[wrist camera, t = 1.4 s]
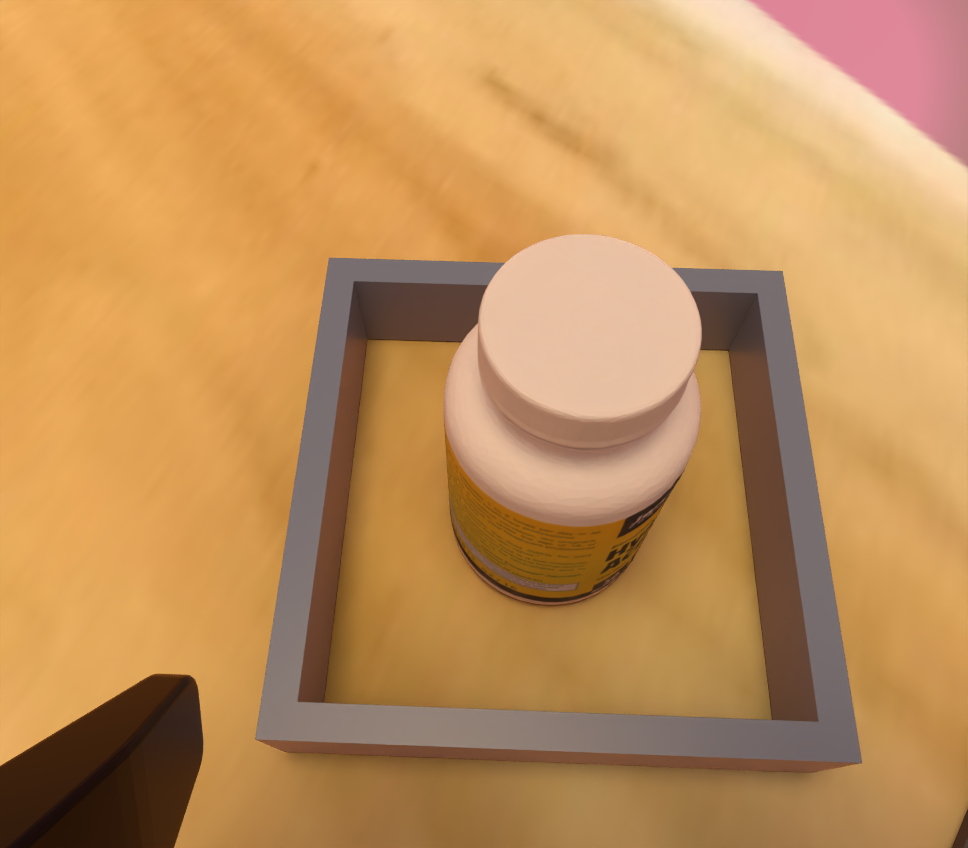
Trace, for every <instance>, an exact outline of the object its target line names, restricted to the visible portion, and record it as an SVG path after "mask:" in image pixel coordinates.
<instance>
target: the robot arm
mask: <svg viewBox="0 0 968 848" xmlns="http://www.w3.org/2000/svg"><path fill="white" fill-rule="evenodd" d="M202 755H203V733H202V723H201V713H200V703H199V693H198V686H197V684H196V681H195V679H194V678H193V677H191V676H190V675H178V674H154V675H151V676H149V677H147V678H145V679H144V680H142V681H140V682H139V683H137V684H135V685H134V686H132V687H130V688H129V689H127V690H125V691H124V692H122V693H120V694H119V695H117V696H115V697H114V698H112V699H110V700H109V701H107V702H105V703H104V704H102V705H100V706H99V707H97V708H96V709H94V710H92V711H91V712H89V713H87V714H86V715H84V716H82V717H81V718H79V719H77V720H76V721H74V722H72V723H71V724H69V725H67V726H66V727H64V728H62V729H61V730H59V731H57V732H56V733H54V734H52V735H51V736H49V737H47V738H46V739H44V740H42V741H41V742H39V743H37V744H36V745H34V746H32V747H31V748H29V749H27V750H26V751H24V752H23V753H21V754H19V755H18V756H16V757H14V758H13V759H11V760H9V761H8V762H6V763H4V764H3V765H1V766H0V848H174V846H175V843H176V840H177V837H178V834H179V831H180V827H181V824H182V821H183V818H184V815H185V812H186V809H187V806H188V803H189V800H190V797H191V794H192V791H193V787H194V784H195V781H196V778H197V775H198V772H199V769H200V765H201V761H202Z"/></svg>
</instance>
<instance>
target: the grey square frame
mask: <svg viewBox="0 0 968 848" xmlns="http://www.w3.org/2000/svg"><path fill="white" fill-rule="evenodd" d="M504 264H505V263H489V262H455V261H421V260H387V259H353V258H329V262H328V268H327V275H326V281H325V288H324V294H323V301H322V307H321V314H320V320H319V327H318V333H317V340H316V346H315V353H314V359H313V366H312V372H311V379H310V385H309V392H308V398H307V405H306V412H305V418H304V425H303V431H302V438H301V444H300V451H299V457H298V464H297V470H296V477H295V483H294V490H293V496H292V503H291V509H290V516H289V522H288V529H287V535H286V542H285V548H284V555H283V561H282V568H281V575H280V581H279V588H278V594H277V601H276V607H275V614H274V620H273V627H272V633H271V640H270V646H269V653H268V659H267V666H266V672H265V679H264V685H263V692H262V698H261V705H260V711H259V718H258V724H257V731H256V738H255V740H258V741H260V742H263V743H265V744H267V745H270V746H272V747H275V748H277V749H280V750H282V751H284V752H298V753H324V754H349V755H375V756H401V757H426V758H452V759H477V760H503V761H528V762H554V763H580V764H605V765H631V766H656V767H682V768H707V769H733V770H759V771H784V772H810V773H812V772H817V771H822V770H828V769H833V768H838V767H843V766H849V765H854V764H859V763H862V759H861V753H860V747H859V741H858V734H857V728H856V722H855V716H854V710H853V704H852V697H851V691H850V685H849V679H848V673H847V666H846V660H845V654H844V648H843V642H842V636H841V629H840V623H839V617H838V611H837V605H836V598H835V592H834V586H833V580H832V574H831V567H830V561H829V555H828V549H827V543H826V537H825V530H824V524H823V518H822V512H821V506H820V499H819V493H818V487H817V481H816V475H815V468H814V462H813V456H812V450H811V444H810V438H809V431H808V425H807V419H806V413H805V407H804V400H803V394H802V388H801V382H800V376H799V369H798V363H797V357H796V351H795V345H794V339H793V332H792V326H791V320H790V314H789V308H788V301H787V295H786V289H785V283H784V277H783V271H760V270H726V269H692V268H672V269H673V270H674V271H675V272H676V273H677V274H678V275H679V276H680V277H681V279H682V280H683V281H684V283H685V284H686V286H687V287H688V289H689V290H690V292H691V294H692V296H693V298H694V300H695V302H696V305H697V308H698V311H699V315H700V319H701V327H702V340H701V348H700V349H709V350H729V355H730V364H731V372H732V381H733V389H734V398H735V406H736V415H737V423H738V432H739V440H740V449H741V457H742V466H743V474H744V482H745V491H746V499H747V508H748V516H749V525H750V533H751V542H752V550H753V559H754V567H755V576H756V584H757V593H758V601H759V610H760V618H761V626H762V635H763V643H764V652H765V660H766V669H767V677H768V686H769V694H770V703H771V711H772V720H757V719H731V718H704V717H678V716H652V715H626V714H599V713H573V712H547V711H521V710H495V709H468V708H442V707H416V706H390V705H363V704H337V703H324V695H325V687H326V679H327V670H328V662H329V654H330V645H331V637H332V629H333V620H334V612H335V604H336V595H337V587H338V579H339V570H340V562H341V554H342V545H343V537H344V529H345V520H346V512H347V504H348V495H349V487H350V479H351V470H352V462H353V454H354V445H355V437H356V429H357V420H358V412H359V404H360V395H361V387H362V379H363V370H364V362H365V354H366V345H367V339H387V340H419V341H451V342H463V340H464V339H465V337H466V336H467V334H468V333H469V332H470V331H471V330H472V329H473V328H474V327H475V326H476V325H477V323H478V318H479V309H480V305H481V302H482V298H483V295H484V293H485V290H486V288H487V286H488V285H489V283H490V281H491V280H492V278H493V277H494V275H495V274H496V273H497V271H498V270H499V269H500V268H501V267H502V266H503V265H504Z"/></svg>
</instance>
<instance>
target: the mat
mask: <svg viewBox="0 0 968 848" xmlns="http://www.w3.org/2000/svg"><path fill="white" fill-rule="evenodd" d="M953 848H968V811H967V814H966V816H965V819H964V821H963V823H962V826H961V828H960V831H959V833H958V836H957V838H956V840H955V843H954V845H953Z"/></svg>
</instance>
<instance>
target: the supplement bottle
mask: <svg viewBox="0 0 968 848" xmlns="http://www.w3.org/2000/svg"><path fill="white" fill-rule="evenodd" d="M701 340H702V327H701V319H700V315H699V311H698V308H697V305H696V302H695V300H694V298H693V296H692V294H691V292H690V290H689V289H688V287H687V286H686V284H685V283H684V281H683V280H682V279H681V277H680V276H679V275H678V274H677V273H676V272H675V271H674V270H673V269H672V268H671V267H670V266H669V265H668V264H666V263H665V262H664V261H663V260H661V259H660V258H659V257H657V256H656V255H654V254H653V253H651V252H649V251H647V250H645V249H643V248H642V247H639V246H637V245H635V244H632V243H630V242H627V241H624V240H620V239H617V238H613V237H608V236H603V235H592V234H577V235H565V236H559V237H555V238H551V239H547V240H543V241H541V242H538V243H536V244H534V245H531V246H529V247H527V248H526V249H524V250H522V251H520V252H518V253H517V254H516V255H514V256H513V257H511V258H510V259H509V260H508V261H507V262H506V263H505V264H504V265H503V266H502V267H501V268H500V269H499V270H498V271H497V273H496V274H495V275H494V277H493V278H492V280H491V281H490V283H489V285H488V286H487V288H486V290H485V293H484V295H483V298H482V302H481V305H480V309H479V318H478V323H477V325H476V326H475V327H474V328H473V329H472V330H471V331H470V332H469V333H468V334H467V336H466V337H465V339H464V340H463V342H462V343H461V344H460V346H459V348H458V350H457V352H456V353H455V356H454V358H453V360H452V362H451V365H450V368H449V371H448V375H447V380H446V385H445V393H444V427H445V441H446V456H447V472H448V488H449V503H450V514H451V521H452V526H453V531H454V535H455V538H456V541H457V544H458V546H459V548H460V550H461V552H462V554H463V556H464V557H465V559H466V561H467V562H468V563H469V565H470V566H471V567H472V568H473V570H474V571H475V572H476V573H477V574H478V575H479V576H480V577H481V578H482V579H483V580H484V581H485V582H487V583H488V584H489V585H490V586H492V587H493V588H495V589H496V590H498V591H500V592H501V593H503V594H505V595H508V596H510V597H512V598H515V599H518V600H521V601H525V602H529V603H534V604H542V605H559V604H567V603H573V602H577V601H580V600H583V599H586V598H589V597H591V596H593V595H595V594H597V593H599V592H600V591H602V590H603V589H605V588H606V587H608V586H609V585H610V584H612V583H613V582H614V581H615V580H616V579H617V578H618V577H619V576H620V575H621V574H622V573H623V571H624V570H625V569H626V568H627V566H628V565H629V564H630V563H631V561H632V560H633V558H634V556H635V554H636V553H637V551H638V549H639V547H640V546H641V544H642V542H643V540H644V538H645V537H646V535H647V533H648V531H649V530H650V528H651V526H652V525H653V522H654V521H655V519H656V517H657V516H658V514H659V512H660V510H661V508H662V507H663V505H664V503H665V502H666V500H667V498H668V496H669V495H670V493H671V491H672V490H673V488H674V486H675V485H676V483H677V481H678V480H679V478H680V476H681V475H682V473H683V472H684V470H685V467H686V464H687V462H688V460H689V458H690V456H691V453H692V451H693V448H694V446H695V443H696V440H697V437H698V431H699V426H700V417H701V400H700V392H699V387H698V383H697V379H696V376H695V373H694V368H695V366H696V363H697V360H698V357H699V353H700V348H701Z"/></svg>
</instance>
